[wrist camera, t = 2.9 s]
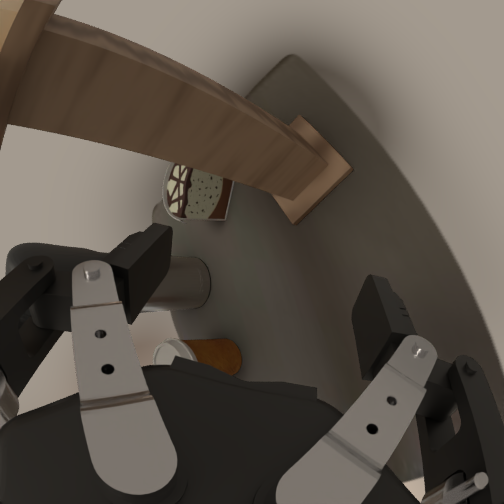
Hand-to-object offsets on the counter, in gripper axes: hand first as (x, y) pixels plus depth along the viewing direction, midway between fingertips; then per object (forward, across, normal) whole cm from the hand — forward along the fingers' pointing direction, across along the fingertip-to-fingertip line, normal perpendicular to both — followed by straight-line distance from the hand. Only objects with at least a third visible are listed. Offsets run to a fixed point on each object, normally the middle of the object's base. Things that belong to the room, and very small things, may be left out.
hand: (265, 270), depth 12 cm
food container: (+39, +10, +10) cm, 42 cm away
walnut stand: (+32, -2, +2) cm, 33 cm away
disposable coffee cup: (+24, +2, +32) cm, 41 cm away
